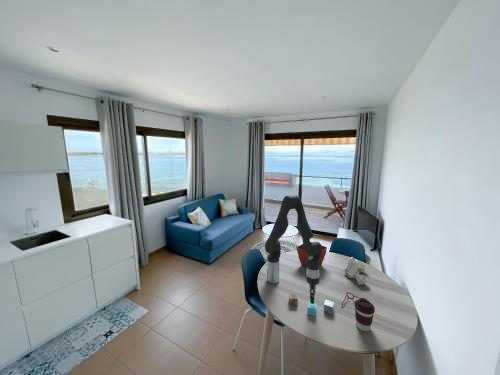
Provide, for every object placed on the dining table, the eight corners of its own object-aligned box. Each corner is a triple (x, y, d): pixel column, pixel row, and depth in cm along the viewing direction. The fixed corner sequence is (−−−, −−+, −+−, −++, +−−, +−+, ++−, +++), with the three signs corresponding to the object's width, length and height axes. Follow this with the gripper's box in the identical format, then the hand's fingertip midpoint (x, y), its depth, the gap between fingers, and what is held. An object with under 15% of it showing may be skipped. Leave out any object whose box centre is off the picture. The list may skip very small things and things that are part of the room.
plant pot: (307, 257, 193) (308, 240, 190) (326, 265, 179) (327, 247, 176) (295, 265, 180) (296, 247, 177) (315, 274, 166) (316, 254, 164)
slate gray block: (323, 311, 127) (324, 304, 126) (325, 306, 131) (325, 299, 130) (332, 314, 125) (332, 307, 124) (333, 309, 129) (333, 302, 128)
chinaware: (370, 291, 146) (374, 270, 143) (344, 284, 152) (348, 264, 149) (363, 270, 172) (367, 252, 169) (342, 265, 178) (345, 247, 174)
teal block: (307, 314, 125) (307, 307, 124) (307, 308, 130) (308, 301, 129) (315, 316, 123) (316, 309, 123) (316, 310, 128) (316, 303, 127)
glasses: (368, 305, 131) (368, 298, 130) (363, 318, 121) (364, 311, 120) (346, 297, 140) (346, 290, 139) (340, 308, 130) (341, 301, 129)
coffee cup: (364, 336, 109) (366, 311, 107) (349, 323, 118) (350, 299, 116) (377, 329, 113) (379, 305, 110) (361, 317, 122) (362, 294, 119)
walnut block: (289, 305, 133) (290, 298, 132) (289, 300, 138) (289, 293, 137) (297, 305, 133) (297, 298, 132) (296, 300, 137) (296, 293, 137)
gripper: (307, 267, 130) (307, 290, 133) (305, 280, 117) (305, 305, 119) (319, 268, 128) (319, 292, 130) (319, 282, 115) (318, 308, 117)
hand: (312, 298), depth 125 cm, fingers open, 8 cm apart
